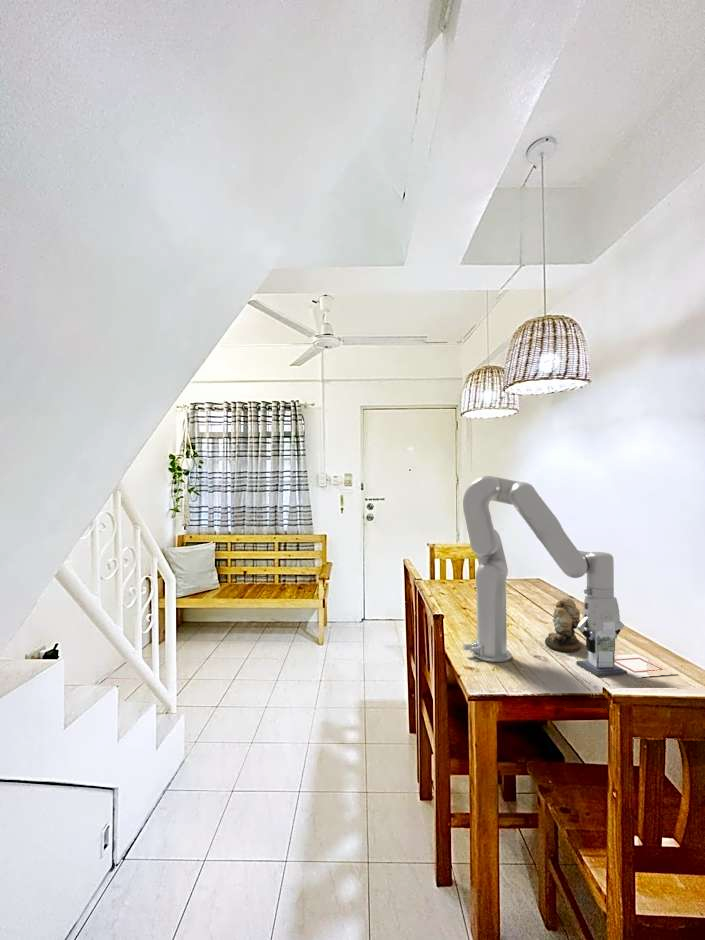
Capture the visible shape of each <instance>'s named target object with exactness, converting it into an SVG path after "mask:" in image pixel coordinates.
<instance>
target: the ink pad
mask: <svg viewBox="0 0 705 940" xmlns="http://www.w3.org/2000/svg"><path fill="white" fill-rule="evenodd" d="M575 663H576V666H579V667H580V668H581V669H583V668H584V669H583V670H585V671H587V672H588V671H589V672H588V673H590V672H591V673H590V674H591V675H593V674H594V676H595V677H597V676H602V677H610V676H609V675H615V676H625V675H624V674H627V675H628V673H627V671H626V670H624V669H622V668H620V667H618V666H616V665H614V668H596V667H594V666H593V665H592V664H590V663H589V662H588V661H587V660H579V661H578V660H577V661H575Z"/></svg>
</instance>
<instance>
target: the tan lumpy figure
mask: <svg viewBox="0 0 705 940" xmlns="http://www.w3.org/2000/svg"><path fill="white" fill-rule="evenodd" d="M580 615H581V613H580V610H579V609H578V608H577V604H576V603H575V601H574V600H573V599H572V598H570V597H567V596H562V597H560V599H559V600H557V602H556V603H555V609H554V611H553V615H552V616H553V619H552V622H553V625H554V631H555V633H554V632H551V633H548V635H547V637H546V638H545V640H544V644H545V646H546V647H547V648H549V649H550V650H553V651H554V652H558V653H565V654H574V653H577V652H579V651H580V650H581V648H582V644H581V641H580V640H579V639H578V638H577V636H576V631H575V629H577V630H578V628H577V625H578V624H579V623H580V622H581V620H580V619H581V618H580V617H581V616H580Z"/></svg>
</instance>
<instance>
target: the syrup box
mask: <svg viewBox="0 0 705 940" xmlns="http://www.w3.org/2000/svg"><path fill="white" fill-rule="evenodd" d="M602 623H604V627H603V631H598V632H595V635H594V638H593V640H595V653H592V652H590V651H588V650H587V649H586V650H587V651H586V652H587V653H586V654H587V655H586V657H587V658H586V659H587V660H586V661H588V662H589V663H590V664H592V665H593V666H594V667H596V668H614V660H615V659H614V657H615V656H616V655H615V651H616V639H615V622H614V621H610V622H609V621H608V622H602ZM590 632H591V631H590Z"/></svg>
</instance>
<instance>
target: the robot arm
mask: <svg viewBox="0 0 705 940" xmlns="http://www.w3.org/2000/svg"><path fill="white" fill-rule="evenodd" d="M491 501H493V502H497V503H502V504H508V505H512V506H513V508H515V509H516V511H517V512H518V514H519V515H520V516H521V518H522V519H523V521H524V522H525V523H526V524H527V525H528V527H529V528H530V529H531V531H532V532H533V534H534V535H535V537H536V538H537V539H538V540H539V541H540V543H541V544H542V545H543V547H544V548H545V549H546V551H547V552H548V554H549V555H550V556H551V557H552V559H553V561H554V562H555V564H556V565H557V566H558V567H559V569H560V570H561V571H562V573H563V574H564V575H565V576H567V577H569V578H573V579H579V578H582V577H583V576H585V574H586V589H584V590H583V593H584V594H585V597H584V601H583V609H582V620H580V623H579V624H578V625H577V630H578V631H579V632H580V633H581V634H582V635H583V636H584V638H585V640H586V641H585V643H586V644H585V646H586V647H585V648H586V650H588V651H590V652H592V653H595V640H593V638H594V635H595V632H598V631H603V627H604V623H602V622H608V621H609V622H610V621H614V622H615V640H616V639H617V638H618V635H619V634H620V633H621V631H622V630H623V628H624V627H625V625H624V623H623V622H622V621H621V620H620V619H621V616H620V609H619V602H618V599H617V597H615V591H614V590H615V586H614V585H615V584H614V582H615V581H614V580H615V572H614V568H615V565H614V564H615V563H614V556H613V555H612V554H611V553H609V552H602V551H592V552H589V551H583V550H578V549H577V547H576V545H574V543H573V542H572V541H571V539H570V538H569V536H568V535H567V534H566V532H565V530H564V528H563V527H562V525H561V523H560V521H559V520H558V518H557V517H556V515H555V514H554V513H553V511H552V510H551V509H550V508H549V506H548V505H547V503H545V501H544V499H543V498H542V497H541V496H540V495H539V493H538V491H536V489H535V487H534V486H533V485H532V484H530V483H528V482H525V481H518V480H511V479H507V478H502V477H498V476H492V475H483V476H480V477H478V478H477V479H475V480H474V481H473V482H472V483H471V484H470V485H469V486H468V487H467V488H466V490H465V492H464V495H463V499H462V507H463V508H462V509H463V514H464V519H465V524H466V529H467V533H468V534H467V535H468V538H469V539H468V540H469V543H470V548H471V550H472V552H473V553H474V554H475V555H476V558H477V562H478V566H477V569H476V572H475V589H476V590H475V591H476V639H474V640H473V642H472V643H471V644H469V643H464V644H463V645H462V649H463V651H469V652H470V653H472V655H473V657H475V658H476V659H478V660H481V661H485V662H490V663H491V662H492V663H502V662H506V661H507V662H508V661H509V660H511V659H512V657H513V655H512V652H511V651H510V650H508V649H507V648H508V647H507V645H508V644H507V641H508V640H507V639H508V638H507V634H508V633H507V585H506V584H507V577H508V573H509V569H508V565H507V559H506V556H505V551H504V547H503V543H502V539H501V536H500V534H499V533H498V531H497V530H496V529H495V528H494V525H493V521H492V516H491V511H490V502H491ZM585 628H586V629H585ZM590 631H591V632H590Z"/></svg>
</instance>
